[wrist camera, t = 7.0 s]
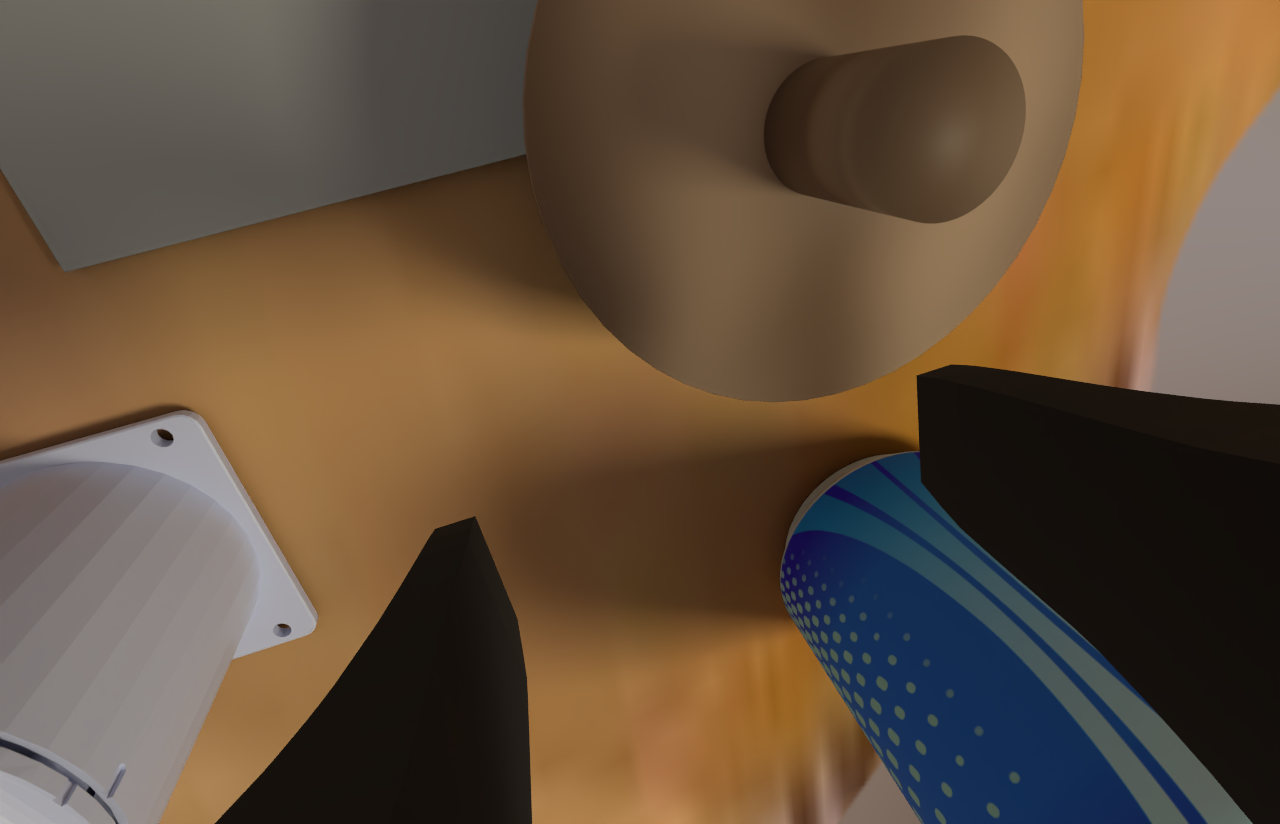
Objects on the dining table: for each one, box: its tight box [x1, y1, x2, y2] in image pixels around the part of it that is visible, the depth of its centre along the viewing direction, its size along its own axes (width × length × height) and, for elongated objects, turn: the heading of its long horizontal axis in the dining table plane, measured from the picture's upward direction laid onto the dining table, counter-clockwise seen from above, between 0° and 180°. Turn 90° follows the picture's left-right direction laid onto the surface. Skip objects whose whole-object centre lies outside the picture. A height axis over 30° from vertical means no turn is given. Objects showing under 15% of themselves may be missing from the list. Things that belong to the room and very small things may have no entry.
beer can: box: [780, 451, 1253, 824], centre depth 18 cm, size 8×8×16 cm
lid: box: [522, 0, 1084, 402], centre depth 12 cm, size 12×12×5 cm
